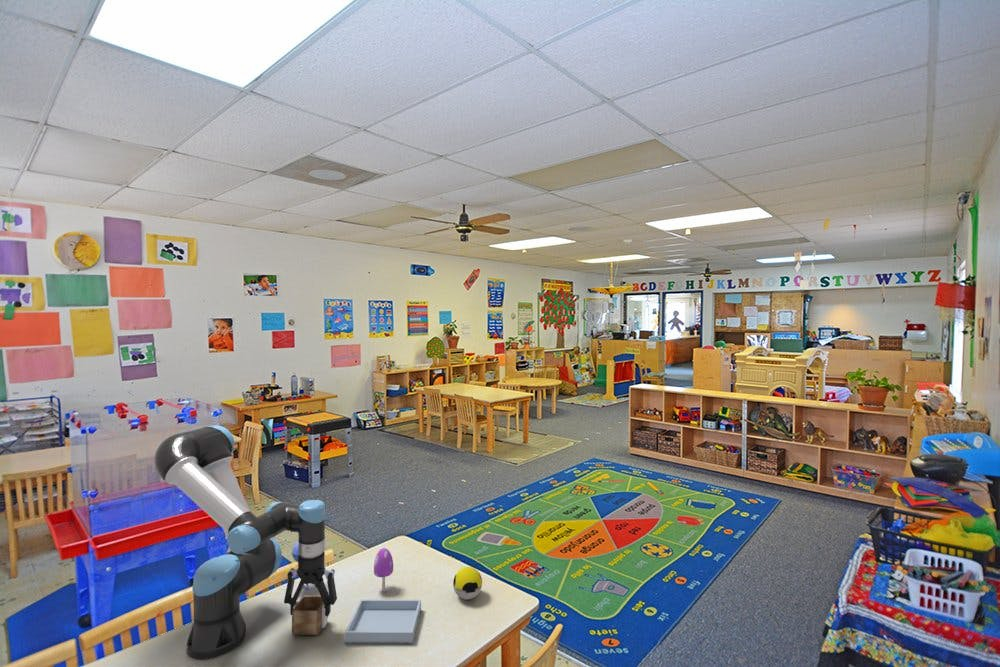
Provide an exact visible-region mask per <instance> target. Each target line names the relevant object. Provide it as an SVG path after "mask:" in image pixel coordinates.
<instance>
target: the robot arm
mask: <svg viewBox="0 0 1000 667" xmlns="http://www.w3.org/2000/svg"><path fill="white" fill-rule="evenodd" d="M235 445H236V442H235V439H234V436H233V434H232V433H231V431H230V430H228V429H227V428H226V427H224V426H221V425H217V424H216V425H209V426H208V425H207V426H204V427H201V428H196V429H192V430H189V431H183V432H179V433H174V434H172V435H170V436H168V437H167V438H165V439H164V440H163V441H162V442H161V443H160V444H159V446H158V448H157V449H156V451H155V454H154V467H155V470H156V472H157V474H158V475H159V477H160V478H161V479H162V480H163V481H164V482H166V483H167V484H168V485H175V486H176V487H178V489H179V490H180V491H181V492H183V493H184V495H185V496H187V497H188V498H189V499H190V500H191V501H193V503H195V504H196V505H197V506H198V507H199V508H200V509H201V510H203V512H204V513H206V514H207V515H208V516H209V517H210V518H211V519H212V520H213V521H214V522H215V523H217V525H219V526H220V527H221V528H222V530H223V531H224V534H225V536H226V537H225V538H226V544H227V546H228V548H227V550H226V554H222V555H219V556H218V557H217V556H215V557H213V558H210V559H208V560H207V561H205V562H204V563H202V564H200V566H199V567H198V568H197V569H196V571H195V572H194V575H193V580H192V581H193V583H192V595H193V601H192V602H193V603H192V604H193V623H192V626H191V630H190V632H189V635H188V638H187V640H186V654H187V656H188V657H189V658H191V659H194V660H197V661H199V660H201V661H203V660H212V659H215V658H219V657H222V656H224V655H226V654H228V653H230V652H232V651H233V650H234V649H236V648H238V647H239V646H240V645H241V644H242V643H243V642H244V640H245V639H246V636H247V623H246V622H245V620H244V619H245V618H244V617H243V614H242V612H241V609H240V608H241V607H240V603H241V602H240V600H241V599H240V598H241V596H242V595H244V594H245V593H247V592H248V591H249V590H251V589H252V588H254V587H256V586H257V585H260V583H261V582H263V581H265V580H268V578H270V577H271V576H272V575H273V574H274V573H276V572H277V571H278V569H279V568H280V565H281V563H282V558H283V552H282V551H283V550H282V549H281V548H282V547H281V545H280V543H279V541H278V540H276V539H275V537H276V536H278V535H280V534H282V533H283V532H286V531H289V532H293V533H298V541H299V545H298V553H299V556H298V562H297V569H295V568H293V567H292V568H290V570H289V571H288V572H287V573H286V574H287V583H286V584H287V586H286V589H285V593H284V594H285V595H284V599H283V603H284V604H285V605H287V604H288V605H289V606H290V616H292V611H293V609H294V608H295V606H296V605H297V603H298V602H299V601H300V600H299V598H300V594H301V593H302V591H303V588H304V587H303V586H304V585H306V584H308V585H309V584H311V585H314V586H315V588H316V589H317V591H318V593H319V596H321V598H322V601H323V603H324V605H323V607H322V629H325V627H326V626H327V623H328V618H327V616H328V617H329V616H330V614H331V611H332V610H331V608H332V607H331V606H334V605H335V603H336V602H337V600H338V596H337V590H336V584H335V572H336V571H335V569H333V568H332V569H331V570H330V569H329V570H328V569H326V567H325V560H326V559H325V558H326V557H325V553H326V552H325V550H326V549H325V548H326V547H325V545H326V543H325V542H326V539H325V538H326V537H325V536H326V534H325V532H326V531H325V530H326V518H327V517H326V516H327V514H326V505H325V502H323V501H322V500H320V499H309V500H305V501H303V502H302V503H301V504H293V503H289V502H287V501H274V502H271V503H270V504H269V506H268V507H266V509H265V510H264V513H263V514H262V513H261V514H260V515H258V516H257V515H256V514H254V513H253V512H252V511H250V508H249V505H248V503H247V501H246V499H245V496H244V495H243V491H242V490H241V487H240V485H239V483H238V480H237V478H236V475H235V473H234V471H233V468H232V466H231V463H232V460H233V455H232V453H233V452H234V450H235V448H236V446H235ZM297 576H298V577H299V579H300V581H299V583H298V586H297V588H296V590H295V592H294V594H293V590H294V586H295V581H296V577H297ZM323 576H325V579H326V583H327V584H325V582H324V580H325V579H324V578H323ZM326 585H327V587H326Z"/></svg>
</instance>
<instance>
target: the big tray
mask: <svg viewBox="0 0 1000 667" xmlns="http://www.w3.org/2000/svg"><path fill="white" fill-rule="evenodd" d="M421 611H422V599H359V601H358V604H357V606H356V608H355V610H354V611H353V614H352V616H351V619H350V621H349V622H348V625H347V627H346V629H345V631H344V645H413V644H414V640H415V636H416V632H417V627H418V625H419V620H420V616H421Z"/></svg>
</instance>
